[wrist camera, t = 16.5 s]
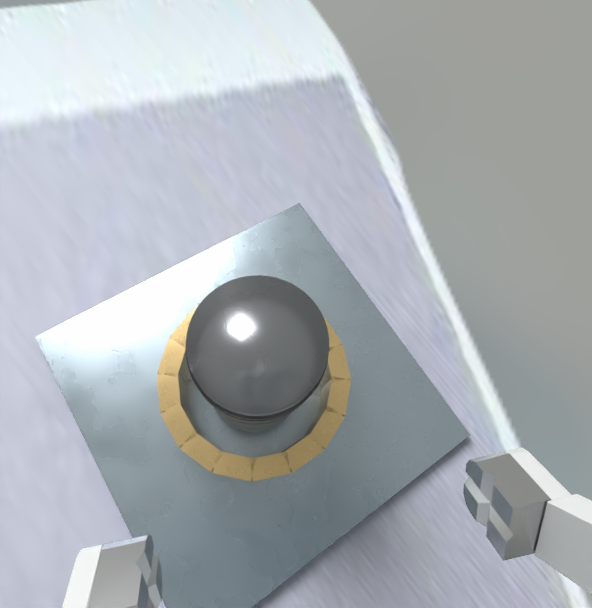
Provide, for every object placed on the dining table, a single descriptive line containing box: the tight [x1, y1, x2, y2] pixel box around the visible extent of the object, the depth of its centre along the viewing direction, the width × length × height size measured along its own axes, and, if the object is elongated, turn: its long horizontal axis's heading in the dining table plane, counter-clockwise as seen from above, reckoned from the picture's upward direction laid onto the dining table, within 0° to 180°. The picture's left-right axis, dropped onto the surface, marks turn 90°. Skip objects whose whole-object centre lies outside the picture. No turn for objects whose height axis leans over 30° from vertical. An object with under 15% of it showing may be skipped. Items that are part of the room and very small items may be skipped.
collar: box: [36, 203, 470, 608], centre depth 23 cm, size 18×18×4 cm
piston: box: [186, 275, 329, 432], centre depth 19 cm, size 5×5×10 cm
